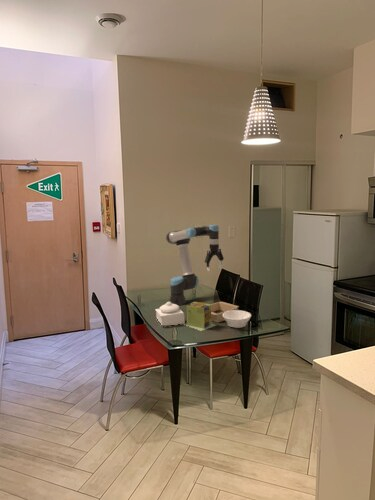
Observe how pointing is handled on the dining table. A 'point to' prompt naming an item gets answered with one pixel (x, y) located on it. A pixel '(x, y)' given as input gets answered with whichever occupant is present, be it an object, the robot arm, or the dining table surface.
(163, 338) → the dining table surface
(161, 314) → the butter dish
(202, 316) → the protein box
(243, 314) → the bowl
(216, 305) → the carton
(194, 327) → the mat
